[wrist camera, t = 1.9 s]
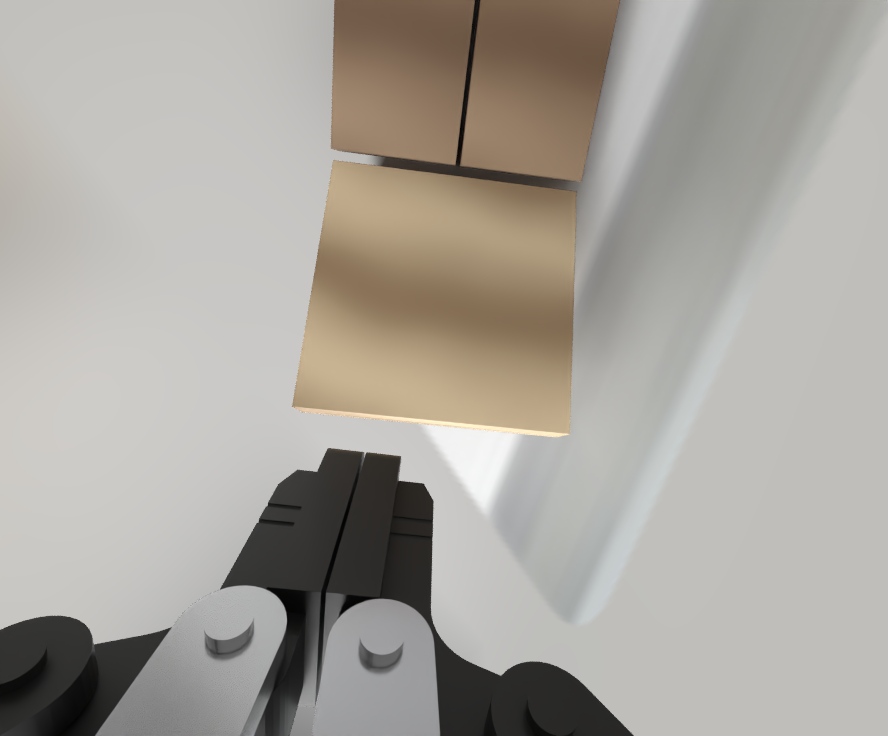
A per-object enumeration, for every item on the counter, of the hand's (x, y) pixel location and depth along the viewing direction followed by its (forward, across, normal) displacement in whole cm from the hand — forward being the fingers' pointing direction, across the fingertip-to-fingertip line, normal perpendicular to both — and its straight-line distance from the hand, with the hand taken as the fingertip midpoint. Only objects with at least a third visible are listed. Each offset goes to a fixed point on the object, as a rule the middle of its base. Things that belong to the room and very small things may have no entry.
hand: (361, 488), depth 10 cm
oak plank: (+10, -1, -2) cm, 10 cm away
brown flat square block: (+13, -1, -12) cm, 18 cm away
